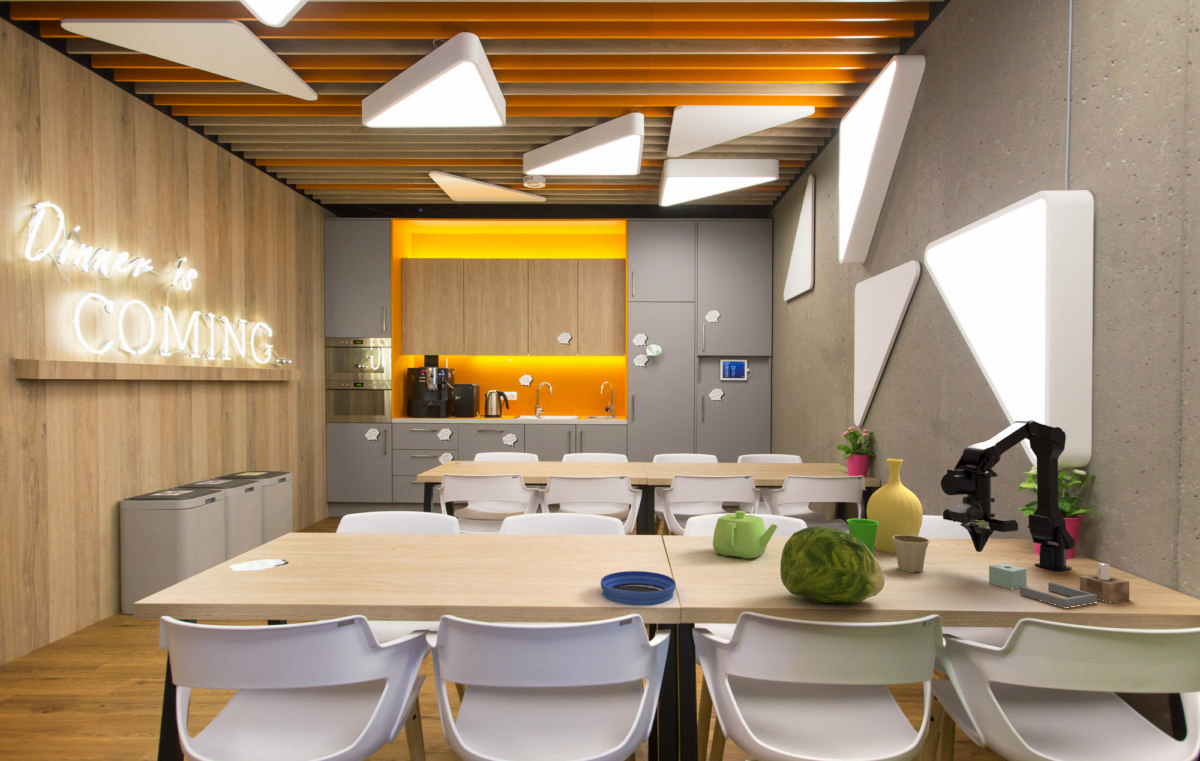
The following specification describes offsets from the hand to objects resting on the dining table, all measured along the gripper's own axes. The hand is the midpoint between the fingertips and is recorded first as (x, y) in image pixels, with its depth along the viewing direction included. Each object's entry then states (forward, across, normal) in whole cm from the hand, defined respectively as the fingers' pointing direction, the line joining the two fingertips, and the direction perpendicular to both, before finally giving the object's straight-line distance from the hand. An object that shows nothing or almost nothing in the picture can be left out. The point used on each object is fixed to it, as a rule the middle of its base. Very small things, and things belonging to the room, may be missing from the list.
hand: (978, 551), depth 182 cm
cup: (+6, -24, -17) cm, 31 cm away
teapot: (+6, -40, -47) cm, 62 cm away
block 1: (+7, +8, 0) cm, 11 cm away
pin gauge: (+6, +24, +12) cm, 28 cm away
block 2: (+6, +24, +12) cm, 28 cm away
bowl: (+7, -16, -93) cm, 95 cm away
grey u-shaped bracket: (+6, +22, 0) cm, 22 cm away
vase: (+7, -30, +1) cm, 31 cm away
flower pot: (+7, -10, -13) cm, 18 cm away
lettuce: (+6, +4, -52) cm, 53 cm away
